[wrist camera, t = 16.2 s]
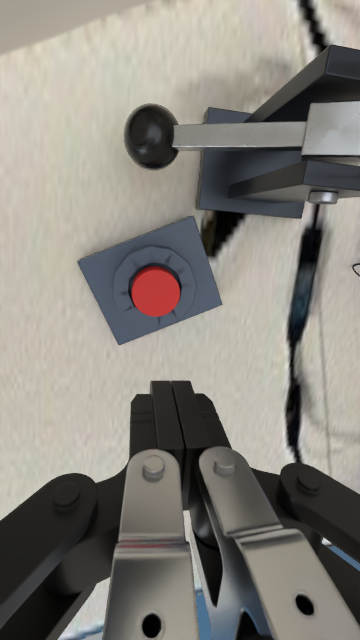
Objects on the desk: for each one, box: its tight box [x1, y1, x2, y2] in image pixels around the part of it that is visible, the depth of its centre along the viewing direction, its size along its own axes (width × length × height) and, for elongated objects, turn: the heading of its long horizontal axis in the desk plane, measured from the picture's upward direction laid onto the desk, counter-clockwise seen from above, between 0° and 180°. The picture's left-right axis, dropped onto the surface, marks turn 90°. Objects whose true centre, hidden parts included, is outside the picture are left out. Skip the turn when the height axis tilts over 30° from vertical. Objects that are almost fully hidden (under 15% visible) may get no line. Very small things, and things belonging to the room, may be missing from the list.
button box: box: [78, 216, 222, 345], centre depth 25 cm, size 10×8×4 cm
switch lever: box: [124, 100, 360, 170], centre depth 16 cm, size 13×3×3 cm
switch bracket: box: [196, 45, 360, 219], centre depth 18 cm, size 9×7×13 cm
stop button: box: [132, 266, 180, 317], centre depth 23 cm, size 4×4×2 cm
